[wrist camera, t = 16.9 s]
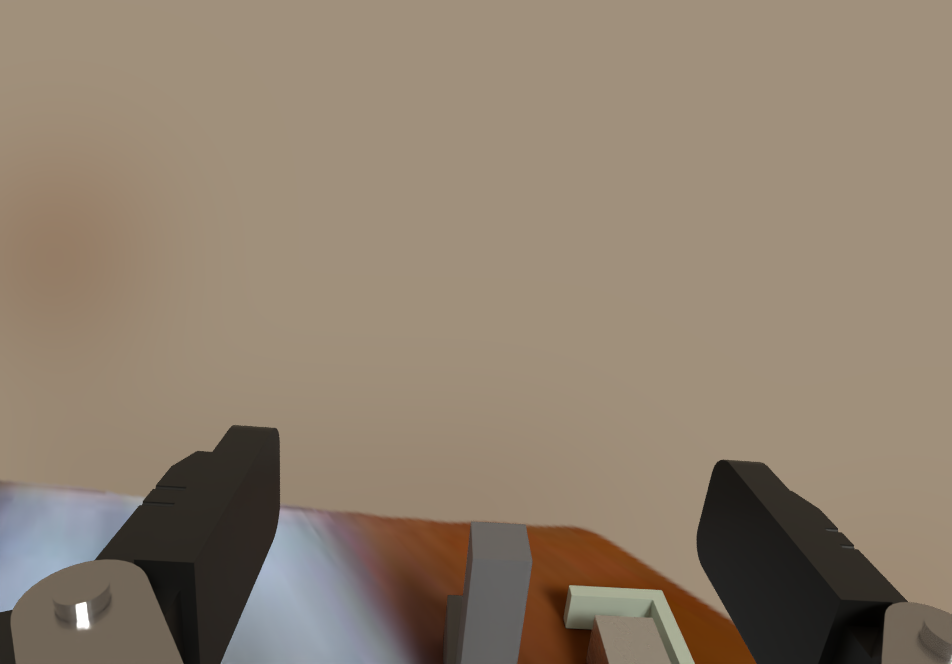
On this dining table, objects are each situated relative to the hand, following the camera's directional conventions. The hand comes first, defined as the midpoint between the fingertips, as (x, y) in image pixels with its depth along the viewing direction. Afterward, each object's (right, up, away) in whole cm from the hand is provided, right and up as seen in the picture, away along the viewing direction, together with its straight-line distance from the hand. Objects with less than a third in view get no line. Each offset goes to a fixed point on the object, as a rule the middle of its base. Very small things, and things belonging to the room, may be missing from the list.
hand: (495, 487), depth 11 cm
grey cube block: (+9, -21, +30) cm, 37 cm away
